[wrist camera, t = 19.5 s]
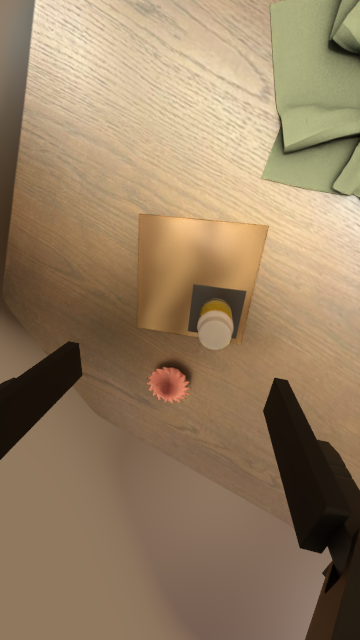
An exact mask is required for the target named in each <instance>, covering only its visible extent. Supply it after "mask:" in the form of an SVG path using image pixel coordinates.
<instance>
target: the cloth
mask: <svg viewBox="0 0 360 640" xmlns="http://www.w3.org/2000/svg"><path fill="white" fill-rule="evenodd" d="M270 17H271V37H272V53H273V71H274V82H275V97H276V106H277V111H278V113H279V115H280V117H281V120H282V125H281V128H280V130H279V133H278V136H277V138H276V141H275V143H274V145H273V148H272V150H271V153H270V156H269V158H268V161H267V164H266V166H265V169H264V172H263V175H262V178H263V179H267V180H271V181H275V182H279V183H283V184H287V185H292V186H296V187H300V188H304V189H310V190H317V191H322V192H327V193H333V194H341V193H344V194H348V195H351V194H354V195H356V196H357V197H359V198H360V0H281V1H279V2H277V3H275V4H273V5H270Z"/></svg>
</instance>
